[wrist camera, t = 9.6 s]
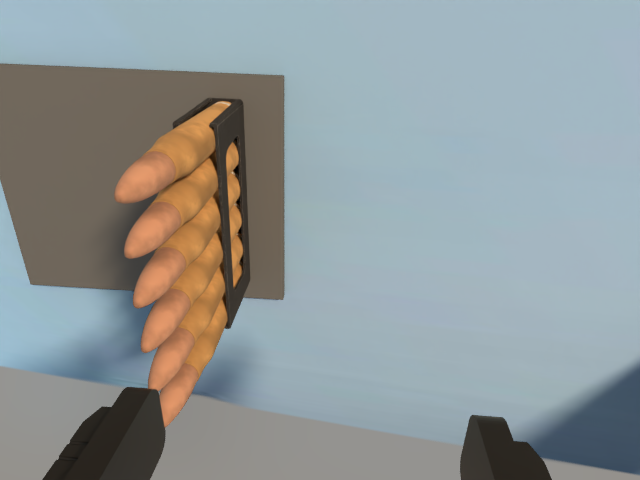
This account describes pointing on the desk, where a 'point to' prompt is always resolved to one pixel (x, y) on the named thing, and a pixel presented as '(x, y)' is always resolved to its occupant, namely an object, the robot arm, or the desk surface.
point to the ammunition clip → (190, 242)
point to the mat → (122, 165)
